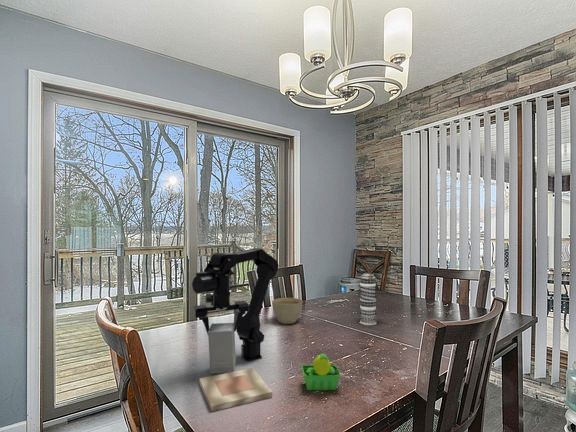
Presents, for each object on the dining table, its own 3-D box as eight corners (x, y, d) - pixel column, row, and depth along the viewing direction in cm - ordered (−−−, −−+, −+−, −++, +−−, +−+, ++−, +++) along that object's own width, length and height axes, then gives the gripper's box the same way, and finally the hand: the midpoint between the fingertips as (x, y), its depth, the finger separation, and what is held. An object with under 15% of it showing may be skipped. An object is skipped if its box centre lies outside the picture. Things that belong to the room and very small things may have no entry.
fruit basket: (336, 380, 108) (336, 345, 109) (341, 394, 99) (341, 356, 100) (301, 380, 108) (301, 346, 108) (303, 394, 99) (303, 356, 99)
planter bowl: (303, 317, 181) (303, 297, 181) (301, 326, 165) (301, 304, 165) (274, 317, 183) (274, 297, 183) (269, 325, 166) (269, 304, 167)
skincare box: (236, 363, 119) (235, 321, 118) (233, 375, 112) (233, 330, 111) (212, 364, 119) (211, 321, 118) (208, 375, 112) (207, 330, 111)
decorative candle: (373, 326, 165) (372, 276, 165) (356, 323, 170) (355, 274, 171) (380, 322, 172) (379, 273, 173) (363, 319, 178) (363, 272, 178)
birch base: (252, 372, 114) (252, 367, 114) (272, 396, 98) (272, 391, 98) (199, 383, 106) (199, 378, 107) (211, 411, 90) (211, 405, 90)
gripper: (240, 282, 128) (240, 323, 127) (190, 287, 120) (190, 330, 120) (249, 287, 118) (249, 332, 117) (195, 293, 110) (195, 340, 110)
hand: (221, 333), depth 116 cm, fingers open, 9 cm apart
